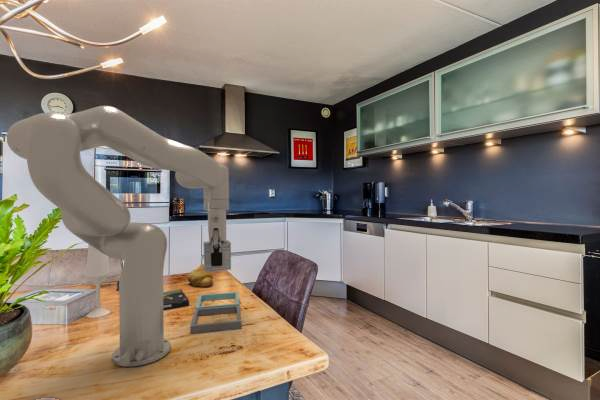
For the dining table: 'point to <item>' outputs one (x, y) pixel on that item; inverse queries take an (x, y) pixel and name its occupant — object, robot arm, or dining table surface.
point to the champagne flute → (97, 276)
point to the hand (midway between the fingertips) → (217, 263)
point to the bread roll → (200, 277)
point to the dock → (216, 310)
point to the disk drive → (174, 300)
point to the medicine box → (225, 256)
